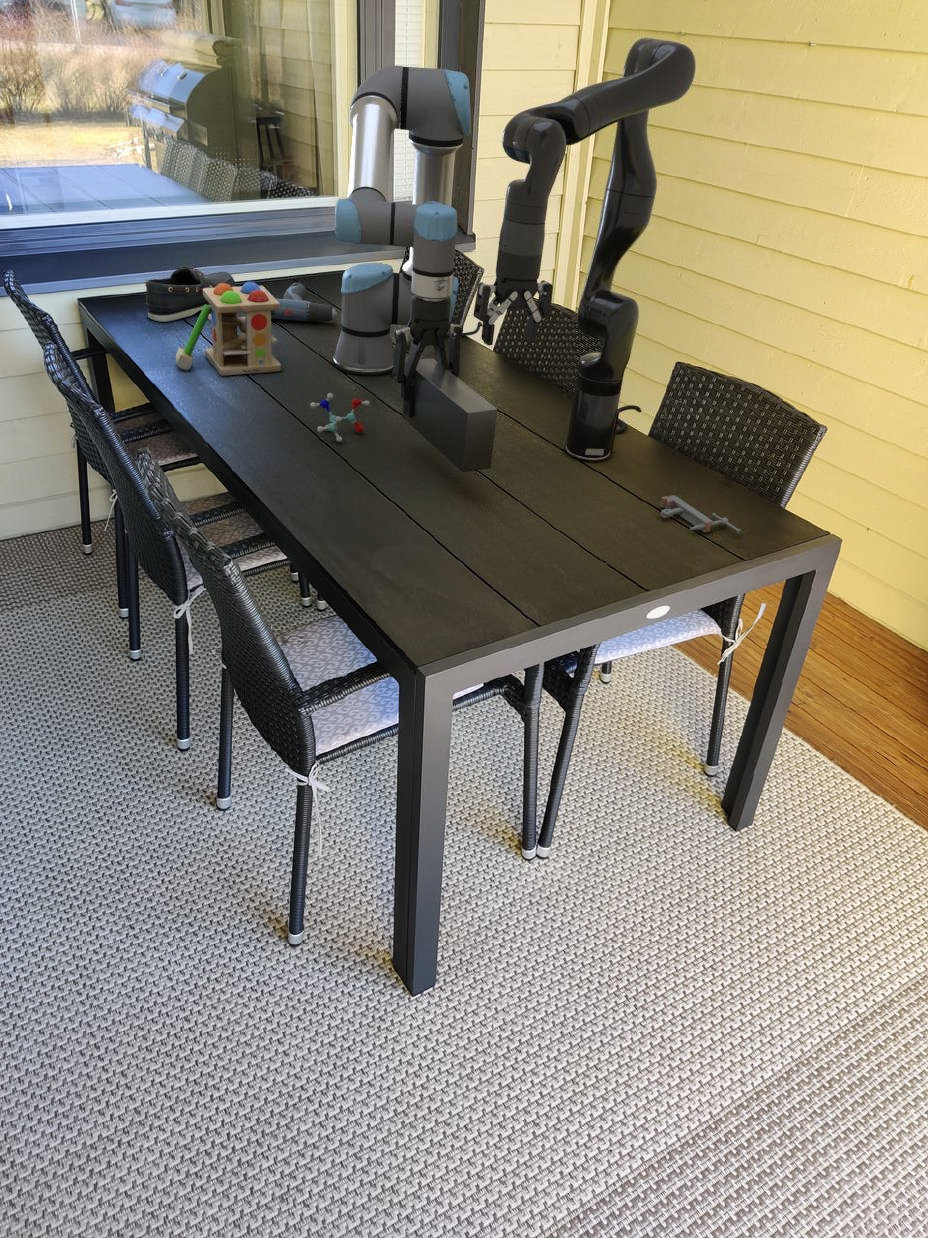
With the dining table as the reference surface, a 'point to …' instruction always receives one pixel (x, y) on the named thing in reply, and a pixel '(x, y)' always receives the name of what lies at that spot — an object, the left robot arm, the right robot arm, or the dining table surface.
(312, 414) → the dining table surface
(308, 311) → the power drill
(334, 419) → the molecular model
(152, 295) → the boat shoe
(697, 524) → the clamp
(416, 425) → the box
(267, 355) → the pounding bench toy
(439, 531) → the dining table surface
